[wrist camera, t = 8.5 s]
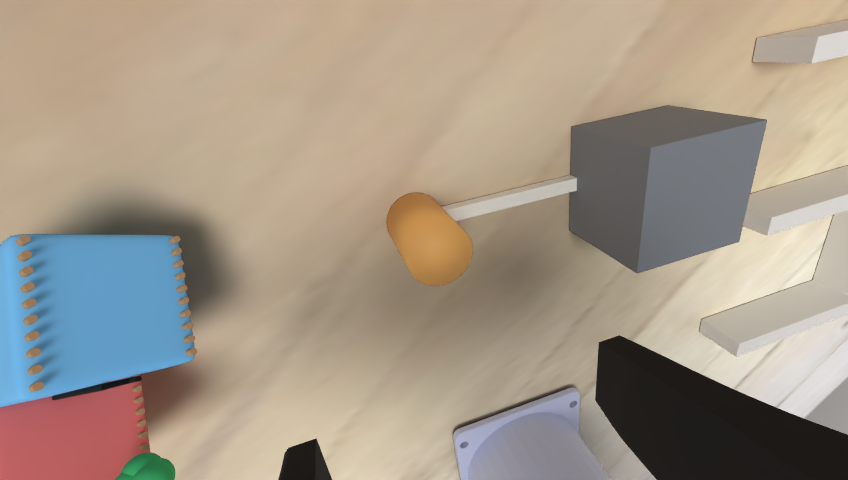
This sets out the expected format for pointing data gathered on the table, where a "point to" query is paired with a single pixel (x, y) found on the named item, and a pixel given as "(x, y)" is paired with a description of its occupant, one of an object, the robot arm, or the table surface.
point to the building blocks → (86, 352)
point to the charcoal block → (614, 193)
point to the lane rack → (794, 223)
